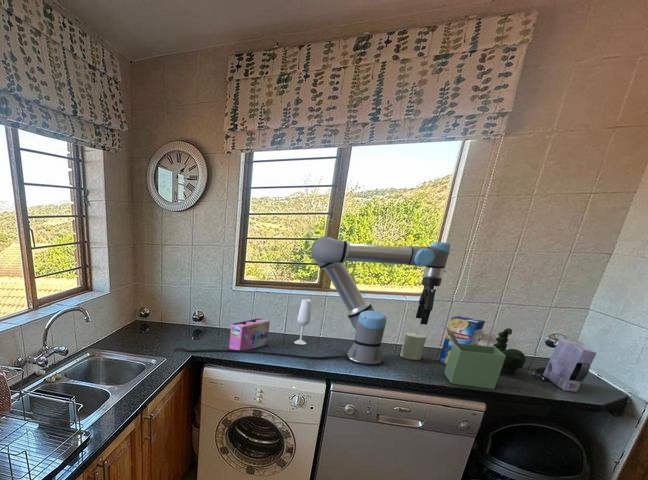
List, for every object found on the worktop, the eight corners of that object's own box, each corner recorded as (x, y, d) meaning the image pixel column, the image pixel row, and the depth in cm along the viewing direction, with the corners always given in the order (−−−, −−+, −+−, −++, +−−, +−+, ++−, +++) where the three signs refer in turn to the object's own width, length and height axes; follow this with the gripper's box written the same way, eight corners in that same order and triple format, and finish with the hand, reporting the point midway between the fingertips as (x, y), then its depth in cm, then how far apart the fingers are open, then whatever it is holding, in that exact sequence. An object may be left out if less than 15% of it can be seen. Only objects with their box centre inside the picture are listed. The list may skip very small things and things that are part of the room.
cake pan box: (580, 393, 161) (598, 352, 155) (564, 391, 163) (582, 350, 157) (555, 377, 178) (571, 339, 171) (541, 375, 180) (556, 337, 173)
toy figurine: (481, 363, 200) (500, 375, 178) (492, 325, 194) (513, 333, 172) (505, 366, 196) (527, 379, 174) (517, 327, 191) (541, 336, 169)
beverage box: (463, 368, 188) (477, 322, 180) (438, 361, 197) (451, 317, 189) (470, 366, 191) (485, 320, 183) (446, 359, 200) (458, 315, 192)
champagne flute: (291, 342, 225) (297, 299, 216) (297, 340, 229) (303, 298, 220) (302, 345, 220) (309, 301, 212) (308, 342, 225) (315, 300, 216)
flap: (461, 349, 165) (460, 349, 165) (453, 340, 176) (452, 341, 176) (453, 333, 164) (452, 334, 165) (446, 326, 175) (445, 326, 176)
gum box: (258, 341, 227) (260, 317, 222) (269, 344, 221) (272, 320, 216) (228, 348, 214) (230, 323, 209) (239, 352, 208) (242, 326, 203)
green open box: (450, 383, 171) (460, 350, 165) (443, 373, 182) (453, 342, 176) (494, 389, 165) (506, 355, 160) (484, 378, 176) (495, 346, 171)
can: (422, 356, 204) (428, 333, 199) (419, 361, 197) (425, 337, 193) (402, 352, 209) (407, 330, 205) (397, 356, 203) (403, 334, 198)
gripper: (448, 280, 176) (435, 327, 184) (436, 274, 198) (425, 316, 205) (428, 279, 179) (416, 326, 187) (418, 273, 200) (408, 315, 208)
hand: (421, 321), depth 196 cm, fingers open, 13 cm apart
